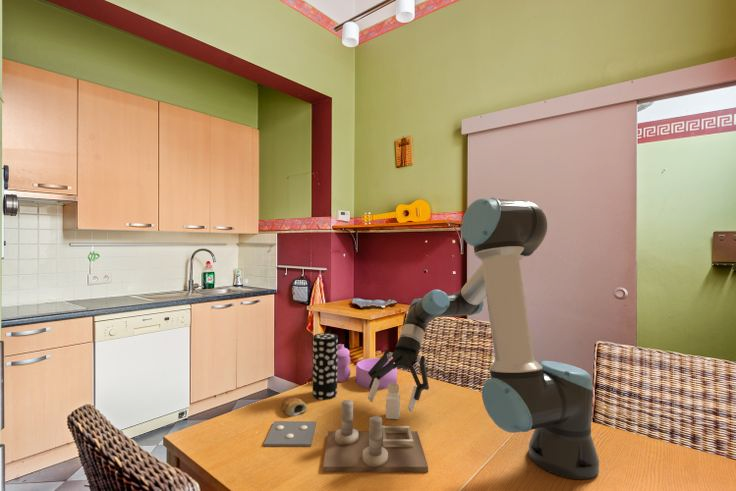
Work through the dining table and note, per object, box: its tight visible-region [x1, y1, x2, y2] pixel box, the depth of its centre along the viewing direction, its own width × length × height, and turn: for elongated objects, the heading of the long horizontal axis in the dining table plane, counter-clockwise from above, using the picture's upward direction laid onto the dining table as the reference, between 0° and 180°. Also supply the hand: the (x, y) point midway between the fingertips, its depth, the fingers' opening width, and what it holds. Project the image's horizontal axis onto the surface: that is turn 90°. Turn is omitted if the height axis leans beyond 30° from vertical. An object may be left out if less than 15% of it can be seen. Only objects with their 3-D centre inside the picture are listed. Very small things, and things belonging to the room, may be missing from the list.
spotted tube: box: [312, 332, 339, 401], centre depth 128 cm, size 8×8×20 cm
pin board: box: [322, 399, 429, 473], centre depth 94 cm, size 24×16×11 cm, turn 91°
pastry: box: [281, 397, 308, 418], centre depth 117 cm, size 9×7×4 cm
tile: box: [263, 420, 317, 447], centre depth 102 cm, size 12×12×1 cm
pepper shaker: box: [385, 383, 401, 420], centre depth 113 cm, size 4×4×10 cm
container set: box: [337, 343, 398, 390], centre depth 142 cm, size 25×15×13 cm, turn 83°
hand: (389, 405), depth 111 cm, fingers open, 12 cm apart
